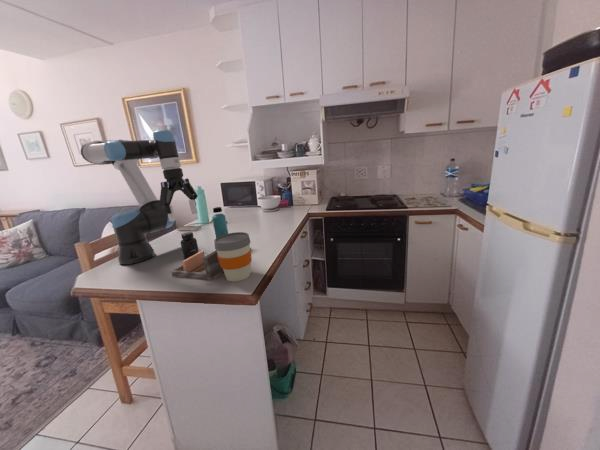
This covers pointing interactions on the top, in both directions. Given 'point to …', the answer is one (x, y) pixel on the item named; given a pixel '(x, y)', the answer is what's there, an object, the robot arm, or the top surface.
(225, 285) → the top surface
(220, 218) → the beverage bottle
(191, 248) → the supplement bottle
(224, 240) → the reusable coffee cup
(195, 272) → the grey stand
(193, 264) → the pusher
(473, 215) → the top surface
